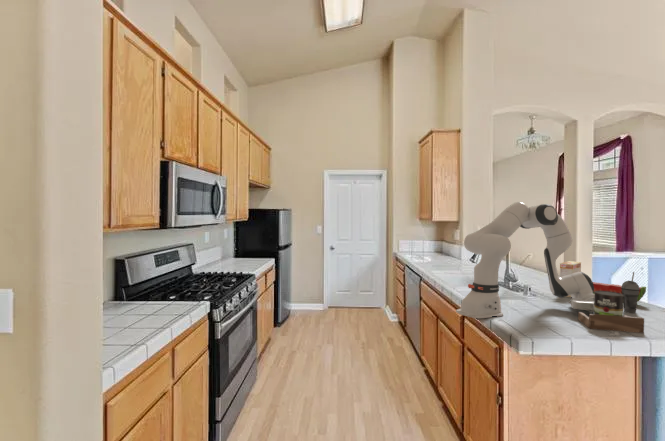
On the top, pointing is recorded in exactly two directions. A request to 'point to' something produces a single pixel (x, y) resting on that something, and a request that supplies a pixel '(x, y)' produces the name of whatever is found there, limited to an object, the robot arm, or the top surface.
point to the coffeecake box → (569, 268)
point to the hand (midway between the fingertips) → (603, 309)
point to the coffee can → (608, 303)
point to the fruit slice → (615, 289)
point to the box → (612, 322)
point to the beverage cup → (630, 295)
